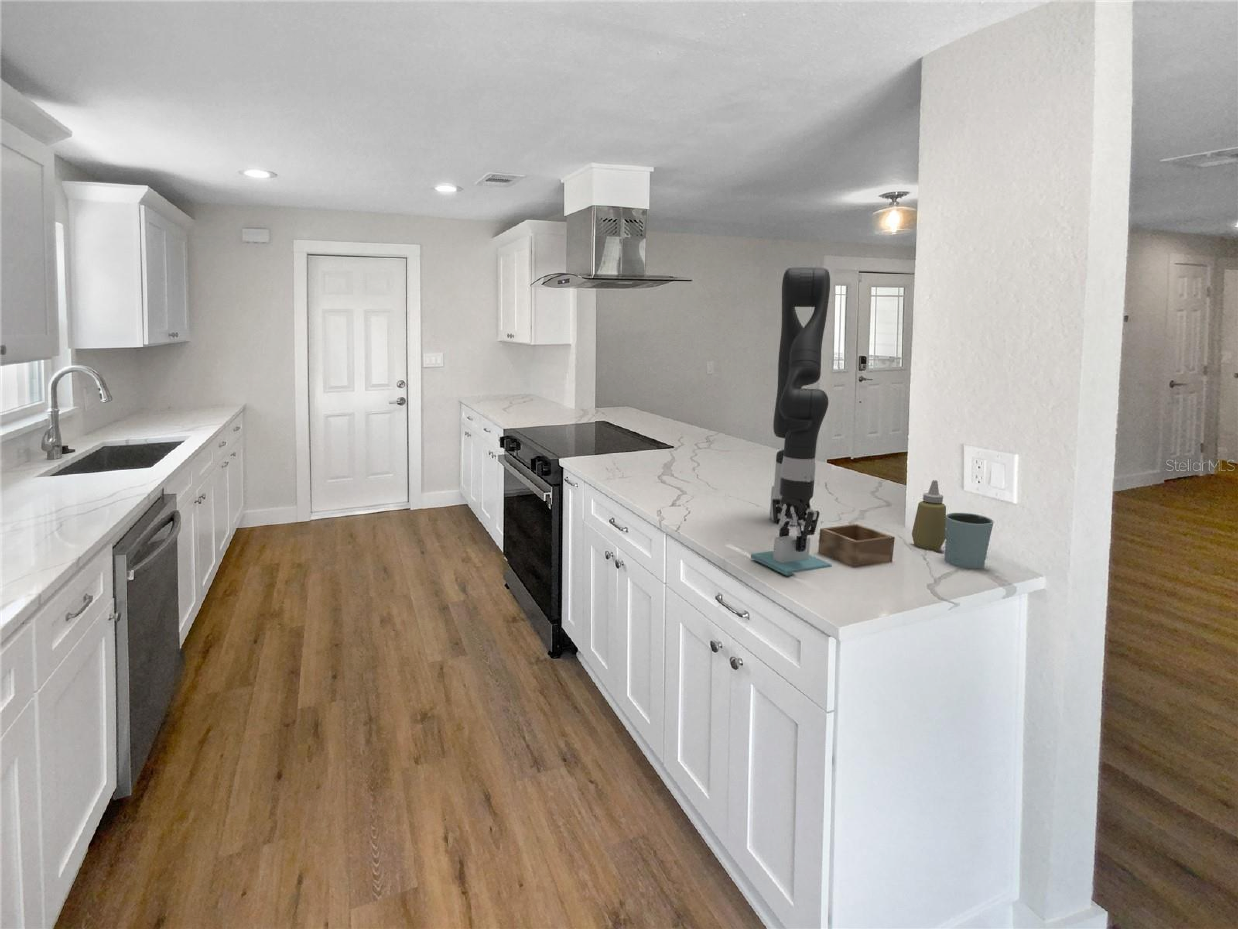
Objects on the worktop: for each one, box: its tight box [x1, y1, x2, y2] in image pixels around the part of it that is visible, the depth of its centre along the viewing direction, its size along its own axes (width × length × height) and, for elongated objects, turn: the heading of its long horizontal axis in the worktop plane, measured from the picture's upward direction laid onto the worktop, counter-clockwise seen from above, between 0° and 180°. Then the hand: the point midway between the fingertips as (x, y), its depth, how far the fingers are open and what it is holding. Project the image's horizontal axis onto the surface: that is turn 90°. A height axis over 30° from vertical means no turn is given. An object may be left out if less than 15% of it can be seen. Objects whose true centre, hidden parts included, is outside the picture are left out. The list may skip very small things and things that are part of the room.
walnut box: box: [817, 523, 896, 569], centre depth 172 cm, size 12×12×7 cm
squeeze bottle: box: [911, 479, 947, 553], centre depth 182 cm, size 8×8×18 cm
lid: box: [750, 534, 832, 576], centre depth 167 cm, size 13×13×7 cm
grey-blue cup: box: [944, 512, 995, 570], centre depth 170 cm, size 10×10×12 cm
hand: (791, 547), depth 167 cm, fingers open, 5 cm apart
